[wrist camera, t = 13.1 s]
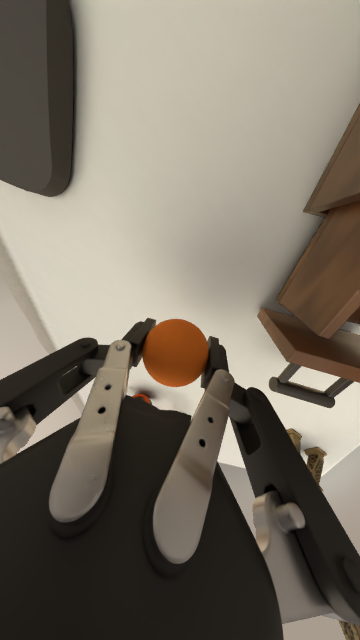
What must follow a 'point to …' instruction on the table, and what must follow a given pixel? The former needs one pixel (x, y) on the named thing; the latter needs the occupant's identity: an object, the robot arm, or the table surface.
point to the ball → (175, 352)
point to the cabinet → (339, 174)
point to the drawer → (321, 309)
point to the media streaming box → (36, 95)
